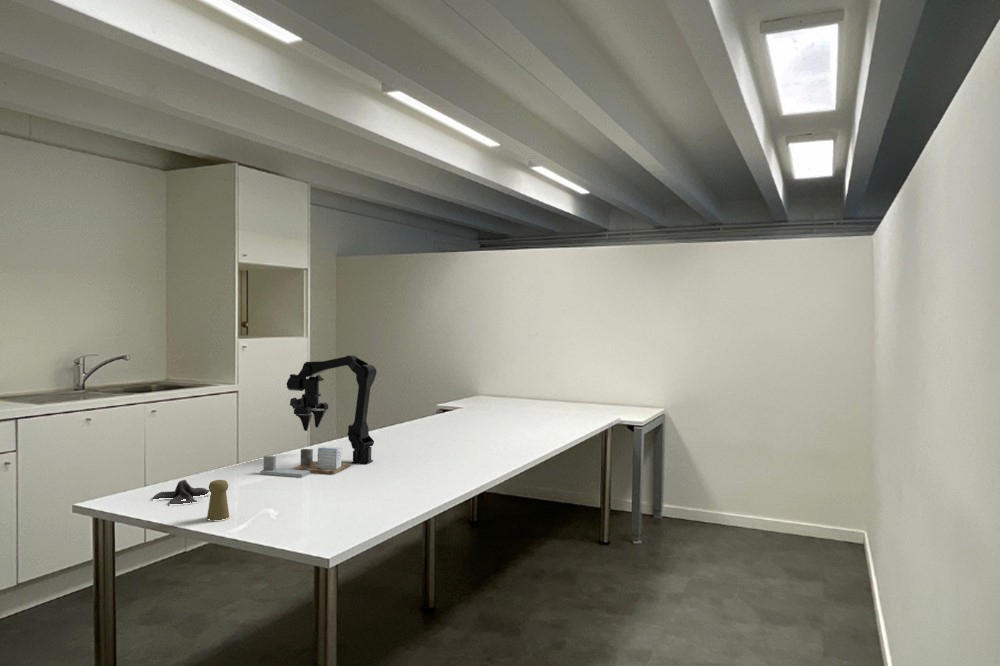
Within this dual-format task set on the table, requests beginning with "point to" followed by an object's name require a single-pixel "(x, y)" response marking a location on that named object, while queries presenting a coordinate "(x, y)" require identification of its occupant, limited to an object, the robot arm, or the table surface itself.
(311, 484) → the table surface
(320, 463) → the medicine box
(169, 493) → the cloth
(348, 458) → the table surface
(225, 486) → the cork
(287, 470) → the grey strip
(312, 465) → the brown wooden frame
